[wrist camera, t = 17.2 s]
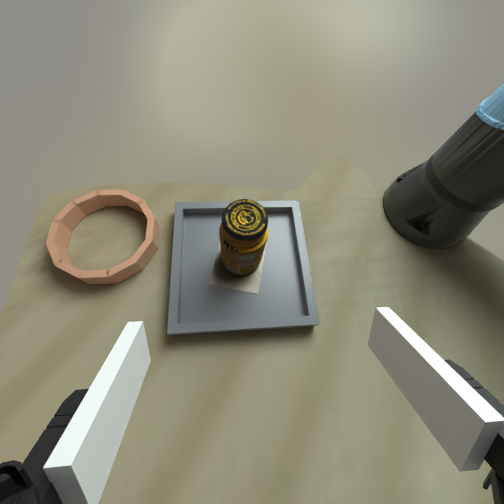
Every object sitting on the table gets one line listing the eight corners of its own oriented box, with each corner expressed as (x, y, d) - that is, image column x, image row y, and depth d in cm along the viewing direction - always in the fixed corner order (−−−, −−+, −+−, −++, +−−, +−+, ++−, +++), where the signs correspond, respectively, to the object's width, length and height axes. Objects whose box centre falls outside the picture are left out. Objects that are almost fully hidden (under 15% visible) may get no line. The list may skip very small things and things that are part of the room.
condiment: (266, 243, 40) (279, 198, 29) (258, 294, 36) (269, 265, 25) (221, 234, 40) (218, 186, 29) (209, 285, 36) (199, 252, 25)
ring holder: (162, 200, 42) (157, 189, 40) (155, 281, 37) (149, 275, 34) (72, 201, 41) (61, 190, 38) (50, 286, 35) (35, 279, 33)
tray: (294, 209, 44) (298, 200, 41) (313, 326, 36) (319, 324, 33) (178, 210, 42) (175, 202, 39) (171, 335, 34) (167, 333, 32)
